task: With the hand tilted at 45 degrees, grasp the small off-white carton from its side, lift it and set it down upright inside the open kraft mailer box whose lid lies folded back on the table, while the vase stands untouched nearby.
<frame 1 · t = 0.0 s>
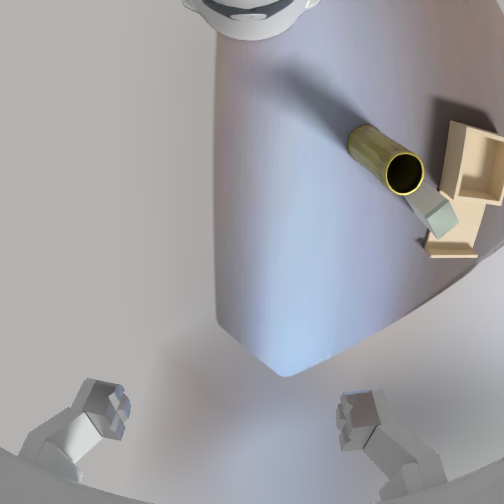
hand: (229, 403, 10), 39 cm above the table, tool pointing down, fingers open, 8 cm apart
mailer: (470, 159, 41), on the table
carton: (418, 196, 46), on the table
vase: (365, 144, 42), on the table
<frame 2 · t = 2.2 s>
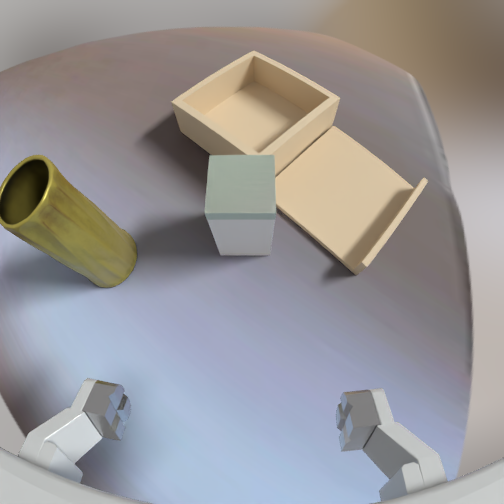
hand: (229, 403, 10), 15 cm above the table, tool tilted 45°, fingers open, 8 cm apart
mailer: (256, 127, 33), on the table
carton: (245, 232, 29), on the table
vase: (110, 258, 28), on the table
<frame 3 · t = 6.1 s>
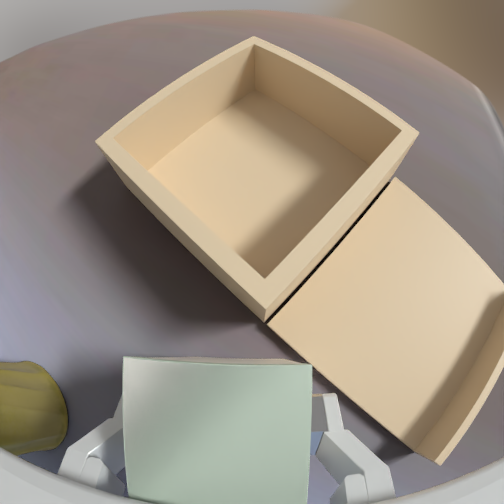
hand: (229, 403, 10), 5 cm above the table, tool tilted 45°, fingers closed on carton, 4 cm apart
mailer: (258, 178, 19), on the table
carton: (238, 400, 15), on the table, touching gripper
vase: (36, 406, 14), on the table
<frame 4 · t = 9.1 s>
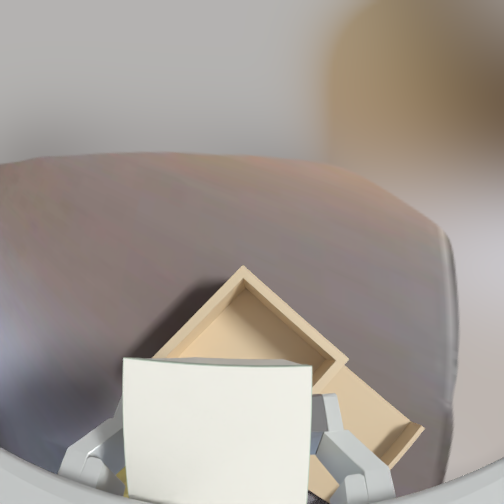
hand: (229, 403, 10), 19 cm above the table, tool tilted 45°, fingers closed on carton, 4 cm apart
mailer: (248, 363, 29), on the table
carton: (238, 400, 14), point 14 cm above the table, touching gripper
when the fingers open (7 cm above the table, at t = 12.0 s): carton drops 1 cm, resting on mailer.
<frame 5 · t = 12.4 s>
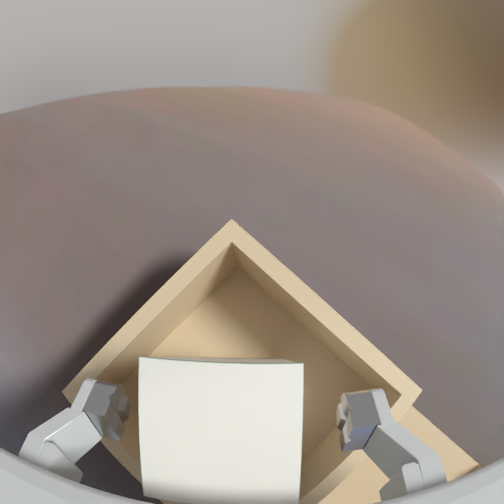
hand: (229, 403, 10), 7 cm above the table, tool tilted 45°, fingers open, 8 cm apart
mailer: (241, 395, 16), on the table
carton: (239, 397, 16), point 1 cm above the table, touching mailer
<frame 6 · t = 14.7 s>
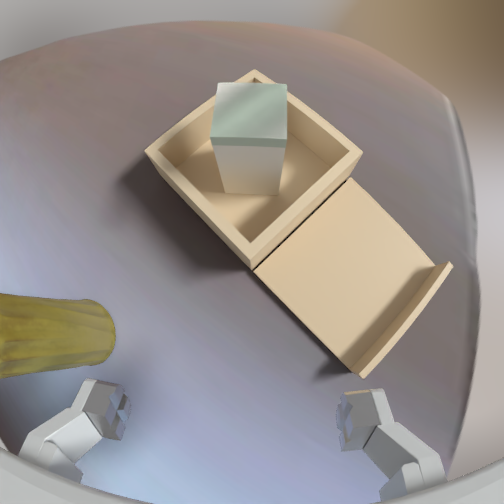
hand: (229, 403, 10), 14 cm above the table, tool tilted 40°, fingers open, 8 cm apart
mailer: (253, 174, 27), on the table
carton: (253, 170, 26), point 1 cm above the table, touching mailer
vase: (89, 332, 25), on the table
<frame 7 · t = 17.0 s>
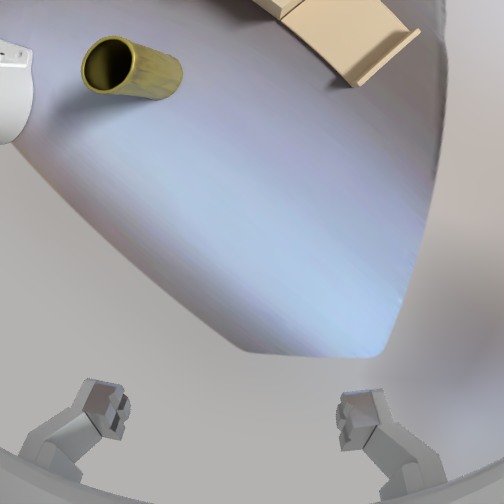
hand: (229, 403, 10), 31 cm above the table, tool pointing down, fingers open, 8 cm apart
vase: (159, 76, 32), on the table
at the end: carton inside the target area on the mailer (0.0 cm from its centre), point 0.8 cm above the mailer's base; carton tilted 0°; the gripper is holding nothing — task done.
